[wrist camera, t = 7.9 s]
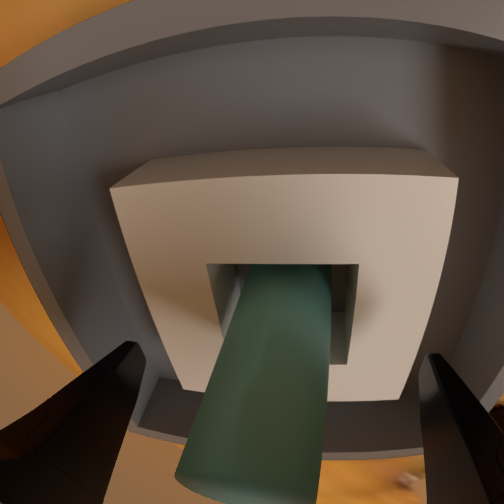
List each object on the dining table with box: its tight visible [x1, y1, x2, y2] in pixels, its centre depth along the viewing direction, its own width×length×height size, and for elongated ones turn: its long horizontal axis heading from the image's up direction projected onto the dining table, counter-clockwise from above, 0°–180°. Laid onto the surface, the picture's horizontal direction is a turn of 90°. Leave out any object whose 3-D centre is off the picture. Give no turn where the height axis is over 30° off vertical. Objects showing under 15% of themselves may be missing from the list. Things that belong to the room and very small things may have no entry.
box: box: [0, 0, 504, 460], centre depth 12 cm, size 20×20×5 cm
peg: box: [175, 264, 332, 504], centre depth 9 cm, size 3×3×9 cm
